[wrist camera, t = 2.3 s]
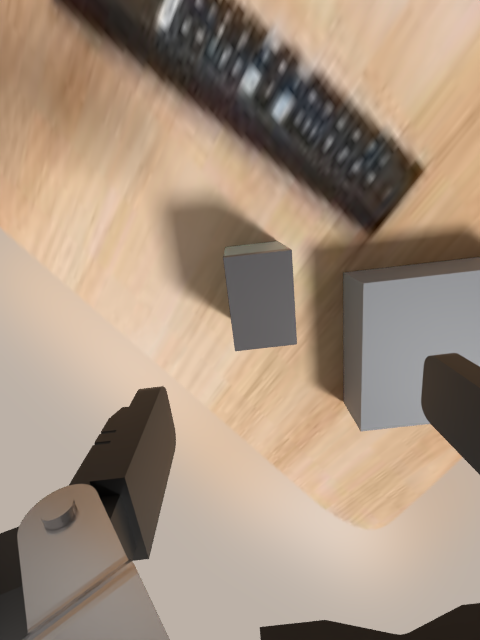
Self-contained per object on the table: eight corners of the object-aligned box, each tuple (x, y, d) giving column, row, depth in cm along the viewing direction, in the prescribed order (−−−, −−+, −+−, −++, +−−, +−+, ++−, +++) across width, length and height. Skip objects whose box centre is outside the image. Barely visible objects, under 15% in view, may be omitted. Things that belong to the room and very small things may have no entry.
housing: (225, 247, 24) (223, 257, 18) (277, 240, 24) (291, 249, 18) (234, 320, 26) (235, 351, 20) (282, 315, 26) (296, 344, 20)
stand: (343, 272, 25) (363, 283, 21) (495, 254, 25) (544, 262, 21) (343, 402, 29) (360, 431, 25) (475, 387, 28) (512, 414, 25)
